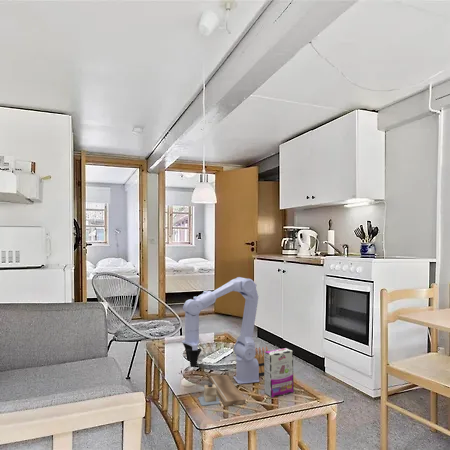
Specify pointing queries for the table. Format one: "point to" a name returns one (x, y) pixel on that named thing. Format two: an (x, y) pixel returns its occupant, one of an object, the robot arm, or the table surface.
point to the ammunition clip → (260, 360)
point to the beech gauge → (209, 392)
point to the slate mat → (208, 402)
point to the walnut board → (227, 390)
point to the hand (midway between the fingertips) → (191, 363)
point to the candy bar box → (278, 372)
